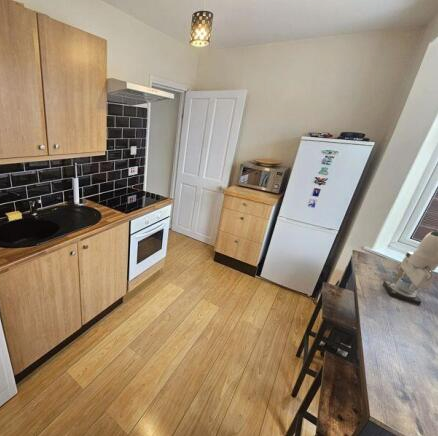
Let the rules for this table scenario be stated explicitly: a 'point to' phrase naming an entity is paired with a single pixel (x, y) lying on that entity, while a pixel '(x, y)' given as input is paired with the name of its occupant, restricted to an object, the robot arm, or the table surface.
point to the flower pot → (400, 273)
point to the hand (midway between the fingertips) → (406, 284)
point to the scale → (401, 293)
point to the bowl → (404, 284)
